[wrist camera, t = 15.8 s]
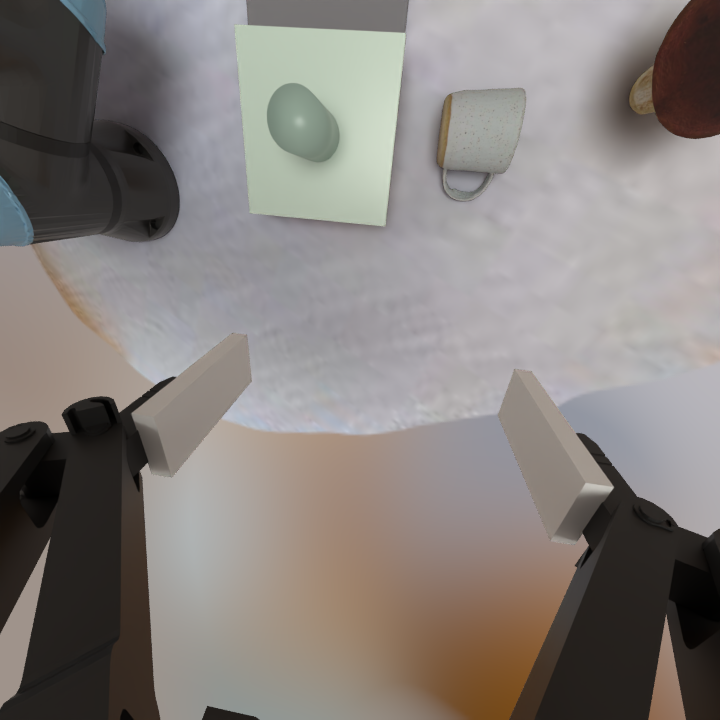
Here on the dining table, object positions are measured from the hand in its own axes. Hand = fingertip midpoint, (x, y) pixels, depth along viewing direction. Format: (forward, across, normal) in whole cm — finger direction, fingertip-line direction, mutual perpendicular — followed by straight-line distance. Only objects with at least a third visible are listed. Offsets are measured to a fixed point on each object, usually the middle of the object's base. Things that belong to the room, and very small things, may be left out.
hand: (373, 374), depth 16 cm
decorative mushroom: (+35, +25, +20) cm, 47 cm away
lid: (+29, -10, +13) cm, 33 cm away
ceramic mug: (+35, +8, +13) cm, 38 cm away
